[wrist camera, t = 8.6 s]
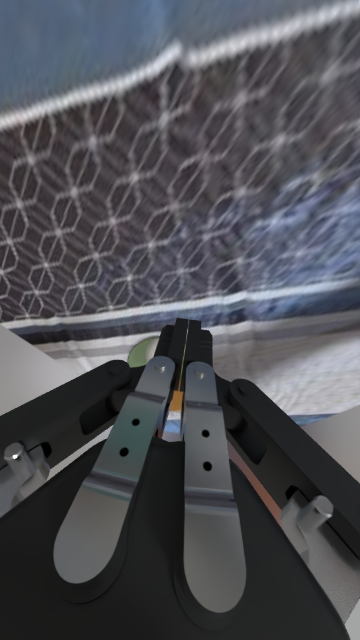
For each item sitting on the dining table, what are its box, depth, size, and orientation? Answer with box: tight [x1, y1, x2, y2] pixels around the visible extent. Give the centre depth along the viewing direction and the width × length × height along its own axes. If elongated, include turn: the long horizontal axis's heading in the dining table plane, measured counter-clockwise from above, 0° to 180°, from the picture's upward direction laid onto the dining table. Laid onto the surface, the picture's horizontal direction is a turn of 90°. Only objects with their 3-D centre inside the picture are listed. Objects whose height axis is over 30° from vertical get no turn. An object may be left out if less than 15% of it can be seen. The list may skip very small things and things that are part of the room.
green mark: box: [128, 338, 186, 379], centre depth 40 cm, size 14×14×1 cm
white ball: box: [146, 337, 160, 363], centre depth 35 cm, size 6×6×6 cm
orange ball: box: [170, 379, 183, 411], centre depth 40 cm, size 6×6×6 cm
